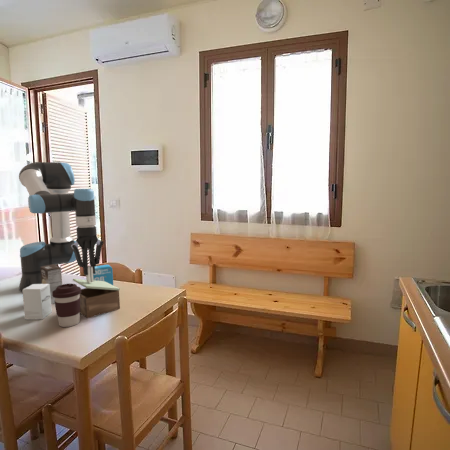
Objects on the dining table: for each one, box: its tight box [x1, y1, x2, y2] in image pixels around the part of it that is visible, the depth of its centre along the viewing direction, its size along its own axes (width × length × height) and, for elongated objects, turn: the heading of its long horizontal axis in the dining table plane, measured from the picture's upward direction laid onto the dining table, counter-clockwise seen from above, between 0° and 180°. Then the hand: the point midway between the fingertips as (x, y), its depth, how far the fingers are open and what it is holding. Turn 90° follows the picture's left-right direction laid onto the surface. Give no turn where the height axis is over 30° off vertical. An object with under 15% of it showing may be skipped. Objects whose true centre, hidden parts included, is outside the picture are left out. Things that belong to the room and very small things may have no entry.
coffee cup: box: [52, 283, 82, 328], centre depth 125 cm, size 10×10×15 cm
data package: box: [93, 264, 114, 286], centre depth 165 cm, size 12×4×12 cm, turn 122°
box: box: [80, 287, 121, 319], centre depth 140 cm, size 14×14×8 cm
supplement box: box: [21, 284, 53, 320], centre depth 133 cm, size 7×7×13 cm
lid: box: [72, 278, 120, 291], centre depth 140 cm, size 15×14×1 cm
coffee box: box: [40, 264, 63, 305], centre depth 151 cm, size 9×6×16 cm
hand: (90, 281), depth 137 cm, fingers closed
